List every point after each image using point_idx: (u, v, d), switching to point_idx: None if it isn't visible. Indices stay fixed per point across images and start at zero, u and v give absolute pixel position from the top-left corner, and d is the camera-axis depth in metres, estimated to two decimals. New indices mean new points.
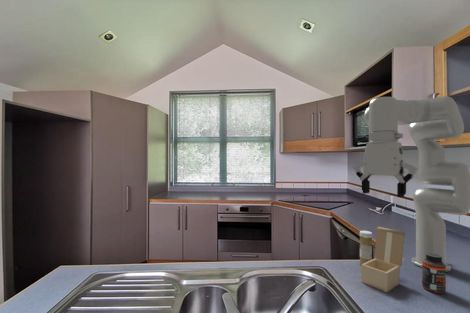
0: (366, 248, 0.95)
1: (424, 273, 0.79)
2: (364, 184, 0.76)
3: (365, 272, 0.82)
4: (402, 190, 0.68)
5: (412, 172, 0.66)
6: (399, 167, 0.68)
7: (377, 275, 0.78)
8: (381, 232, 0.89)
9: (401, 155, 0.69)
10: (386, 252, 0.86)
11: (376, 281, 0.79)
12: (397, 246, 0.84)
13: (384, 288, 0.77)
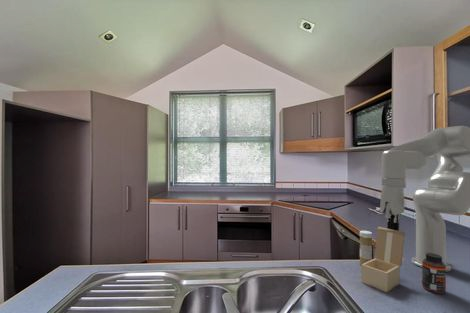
0: (366, 248, 0.95)
1: (424, 273, 0.79)
2: None
3: (365, 272, 0.82)
4: None
5: None
6: None
7: (377, 275, 0.78)
8: (381, 232, 0.89)
9: None
10: (386, 252, 0.86)
11: (376, 281, 0.79)
12: (397, 246, 0.84)
13: (384, 288, 0.77)
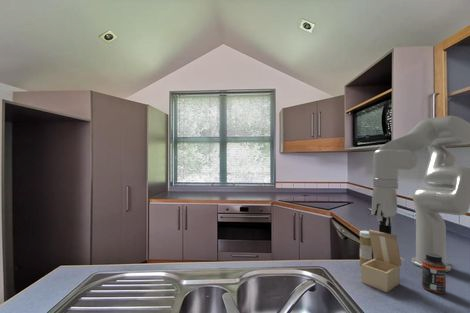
0: (366, 248, 0.95)
1: (424, 273, 0.79)
2: None
3: (365, 272, 0.82)
4: None
5: (391, 217, 0.87)
6: None
7: (377, 275, 0.78)
8: (374, 236, 0.86)
9: None
10: (384, 254, 0.85)
11: (376, 281, 0.79)
12: (393, 249, 0.82)
13: (384, 288, 0.77)
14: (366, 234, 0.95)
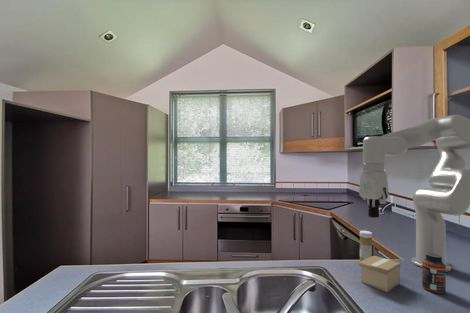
0: (366, 248, 0.95)
1: (424, 273, 0.79)
2: None
3: (365, 272, 0.82)
4: None
5: None
6: None
7: (377, 275, 0.78)
8: None
9: None
10: None
11: (376, 281, 0.79)
12: None
13: (384, 288, 0.77)
14: (366, 234, 0.95)
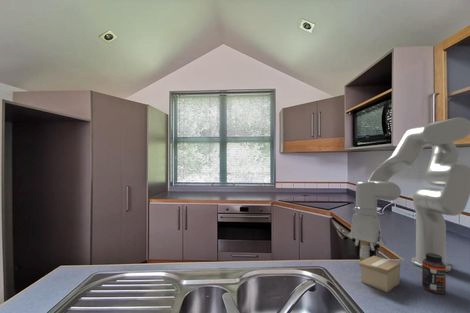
0: (366, 248, 0.95)
1: (424, 273, 0.79)
2: None
3: (365, 272, 0.82)
4: None
5: None
6: None
7: (377, 275, 0.78)
8: None
9: None
10: None
11: (376, 281, 0.79)
12: None
13: (384, 288, 0.77)
14: None
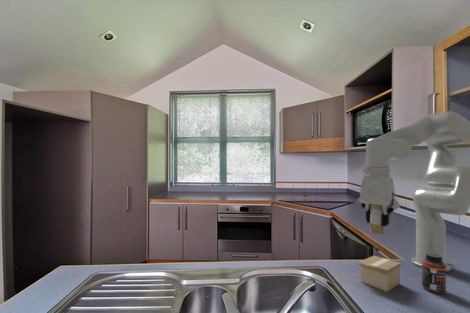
0: (377, 212, 0.84)
1: (424, 273, 0.79)
2: None
3: (365, 272, 0.82)
4: None
5: None
6: None
7: (377, 275, 0.78)
8: None
9: None
10: None
11: (376, 281, 0.79)
12: None
13: (384, 288, 0.77)
14: None
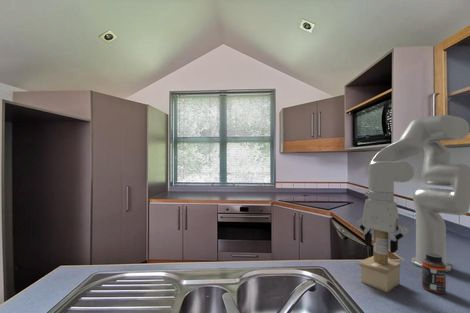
0: (381, 241, 0.81)
1: (424, 273, 0.79)
2: None
3: (365, 272, 0.82)
4: None
5: None
6: None
7: (377, 275, 0.78)
8: None
9: None
10: None
11: (376, 281, 0.79)
12: None
13: (384, 288, 0.77)
14: None
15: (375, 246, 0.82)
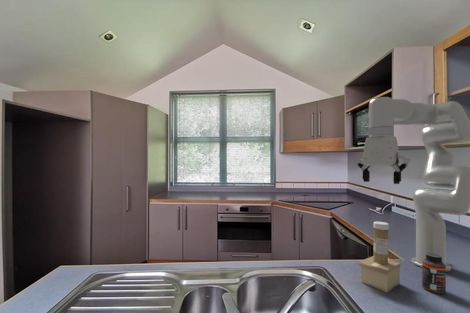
0: (381, 241, 0.81)
1: (424, 273, 0.79)
2: None
3: (365, 272, 0.82)
4: None
5: None
6: None
7: (377, 275, 0.78)
8: None
9: None
10: None
11: (376, 281, 0.79)
12: None
13: (384, 288, 0.77)
14: (382, 225, 0.81)
15: (375, 246, 0.82)
